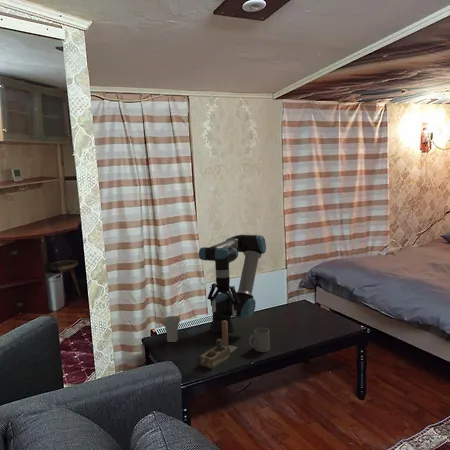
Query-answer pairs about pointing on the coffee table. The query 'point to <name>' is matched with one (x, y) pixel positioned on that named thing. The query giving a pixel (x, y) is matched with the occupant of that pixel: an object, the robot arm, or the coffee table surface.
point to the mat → (231, 348)
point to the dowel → (225, 333)
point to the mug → (261, 340)
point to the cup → (171, 327)
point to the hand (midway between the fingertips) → (224, 313)
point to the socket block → (215, 355)
